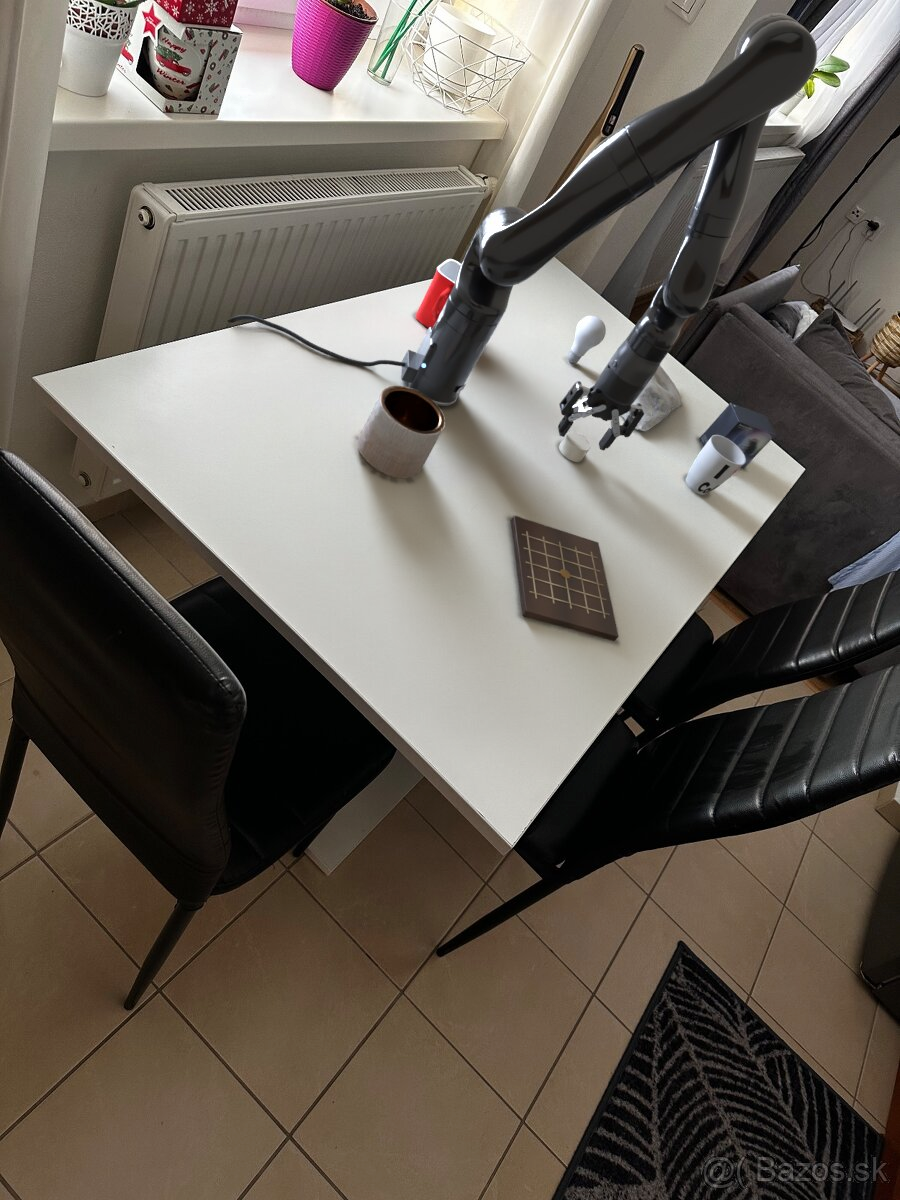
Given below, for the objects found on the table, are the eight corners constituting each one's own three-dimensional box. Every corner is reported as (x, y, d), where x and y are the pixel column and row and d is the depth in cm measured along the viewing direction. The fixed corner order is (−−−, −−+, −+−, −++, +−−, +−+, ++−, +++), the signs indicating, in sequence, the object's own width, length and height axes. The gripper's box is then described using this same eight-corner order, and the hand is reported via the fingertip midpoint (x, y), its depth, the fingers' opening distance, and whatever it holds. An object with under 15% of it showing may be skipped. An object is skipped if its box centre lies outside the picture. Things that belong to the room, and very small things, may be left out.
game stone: (560, 457, 156) (569, 445, 154) (557, 439, 159) (565, 427, 157) (583, 465, 157) (592, 453, 155) (580, 447, 161) (588, 436, 159)
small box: (706, 458, 181) (739, 421, 174) (697, 437, 185) (729, 401, 178) (744, 470, 185) (778, 434, 178) (735, 450, 189) (767, 414, 182)
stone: (647, 345, 193) (697, 388, 192) (626, 371, 198) (676, 413, 196) (610, 362, 171) (667, 411, 169) (588, 391, 175) (643, 439, 174)
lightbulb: (587, 367, 183) (615, 324, 175) (576, 374, 178) (604, 331, 171) (565, 349, 183) (592, 306, 176) (553, 356, 179) (581, 313, 171)
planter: (380, 422, 138) (403, 376, 132) (432, 463, 138) (458, 419, 131) (343, 446, 130) (365, 398, 124) (397, 490, 130) (423, 444, 123)
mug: (427, 303, 169) (450, 256, 162) (462, 327, 170) (486, 281, 162) (403, 323, 161) (426, 275, 153) (439, 348, 161) (464, 301, 154)
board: (522, 615, 124) (526, 610, 123) (510, 520, 137) (514, 514, 136) (614, 641, 130) (619, 636, 129) (594, 546, 143) (598, 541, 142)
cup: (694, 501, 167) (726, 464, 160) (672, 470, 171) (703, 434, 164) (719, 500, 172) (753, 464, 165) (698, 471, 175) (729, 435, 169)
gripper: (659, 371, 150) (610, 438, 161) (590, 344, 145) (544, 416, 157) (669, 396, 145) (617, 465, 157) (597, 369, 141) (549, 442, 152)
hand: (580, 440), depth 157 cm, fingers open, 8 cm apart
